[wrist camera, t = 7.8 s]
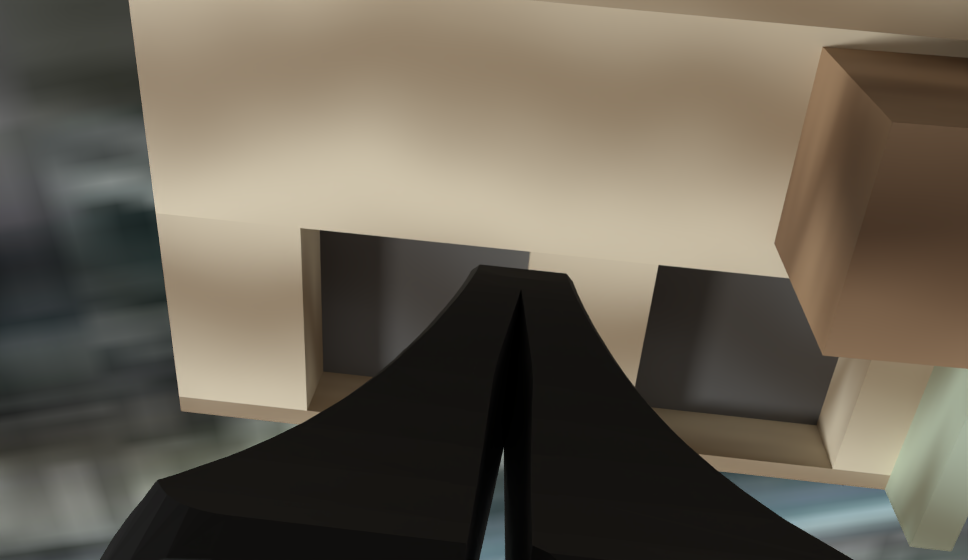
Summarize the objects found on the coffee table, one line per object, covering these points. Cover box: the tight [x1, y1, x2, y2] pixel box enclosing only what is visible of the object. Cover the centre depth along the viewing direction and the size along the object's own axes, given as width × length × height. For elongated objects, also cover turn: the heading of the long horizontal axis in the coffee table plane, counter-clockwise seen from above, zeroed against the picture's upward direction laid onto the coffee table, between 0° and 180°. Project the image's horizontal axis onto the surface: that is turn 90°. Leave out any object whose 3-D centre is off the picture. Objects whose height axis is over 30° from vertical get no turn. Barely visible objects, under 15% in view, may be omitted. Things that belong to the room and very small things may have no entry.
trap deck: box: [129, 0, 968, 551], centre depth 21 cm, size 13×20×4 cm, turn 86°
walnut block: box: [774, 47, 968, 369], centre depth 17 cm, size 4×4×4 cm
